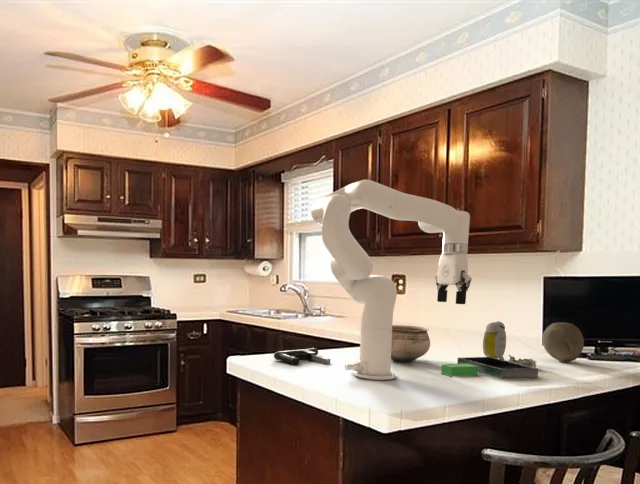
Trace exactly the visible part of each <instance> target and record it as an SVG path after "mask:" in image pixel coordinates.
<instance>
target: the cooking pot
mask: <svg viewBox="0 0 640 484" xmlns="http://www.w3.org/2000/svg"><path fill="white" fill-rule="evenodd" d="M429 330H430V329H429V328H427V327H423V326H418V325H417V326H416V325H405V324H404V325H401V324H392V345H391V360H392V361H394V362H397V363H411V362H413V361H416V360H417V359H419V358H421V357H423V356H425V355H426V354H427V353H428V352H429V350H430V348H431V339H430V336H429V333H428V331H429Z"/></svg>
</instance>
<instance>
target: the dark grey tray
mask: <svg viewBox="0 0 640 484" xmlns="http://www.w3.org/2000/svg"><path fill="white" fill-rule="evenodd" d="M456 364H471V365H475V366H478V373H479V374H481V375H486V376H488V377H492V378H495V379H496V378H497V379H499V380H520V379H521V380H523V379H538V378H539V368H537V367H536V368H534V367H530V366H526V365H522V364H518V363H514V362H509V360H505V359H504V360H501V359H499V358H493V357H486V356H482V357H481V356H473V357H471V356H470V357H457V362H456Z"/></svg>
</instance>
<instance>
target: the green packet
mask: <svg viewBox="0 0 640 484" xmlns="http://www.w3.org/2000/svg"><path fill="white" fill-rule="evenodd" d="M440 368H441V370H440V373H441V375H443V376H447V377H449V378H453V377H455V376H478V375H479V374H478V366H475V365H471V364H457V363H442V364H441V367H440Z"/></svg>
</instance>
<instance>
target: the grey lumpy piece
mask: <svg viewBox="0 0 640 484" xmlns="http://www.w3.org/2000/svg"><path fill="white" fill-rule="evenodd" d="M508 357H509V359H508V361H509V362H514V363H518V364H522V365H526V366H530V367H534V368H537V364H536V363H537V361H536V360H533V358H523V359H521V357H519V358H518V359H516V358H515V356H513V355H511V354H508Z"/></svg>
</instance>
